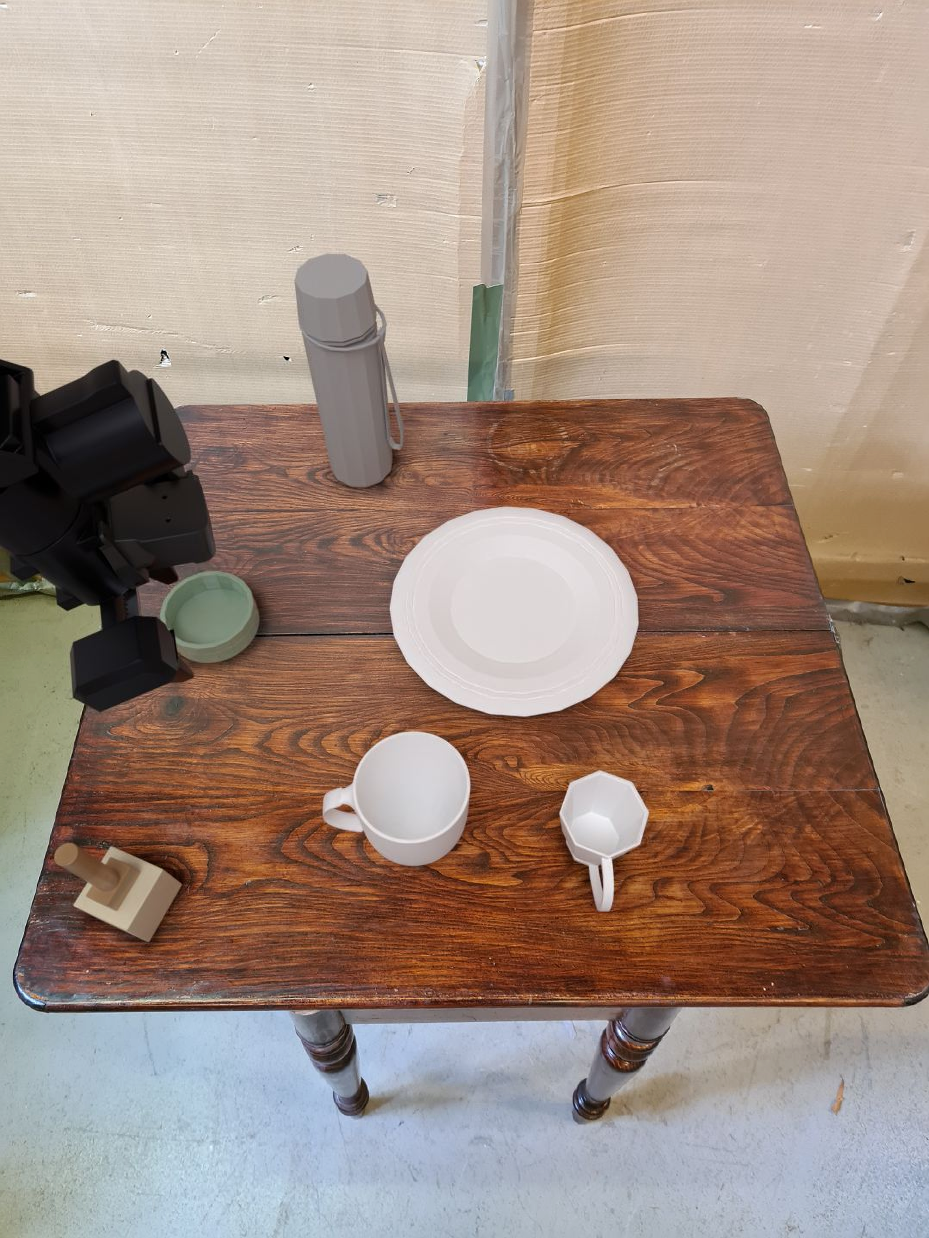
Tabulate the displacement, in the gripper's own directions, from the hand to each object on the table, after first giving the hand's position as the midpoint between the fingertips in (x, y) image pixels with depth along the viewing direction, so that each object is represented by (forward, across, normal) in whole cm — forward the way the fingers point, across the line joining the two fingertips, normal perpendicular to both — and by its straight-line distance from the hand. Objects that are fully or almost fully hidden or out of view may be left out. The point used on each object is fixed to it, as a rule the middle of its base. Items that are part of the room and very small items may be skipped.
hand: (180, 627), depth 61 cm
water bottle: (+21, +26, -15) cm, 37 cm away
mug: (+19, -16, -8) cm, 26 cm away
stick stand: (+13, -14, +14) cm, 24 cm away
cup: (+23, -23, -22) cm, 39 cm away
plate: (+23, +3, -24) cm, 34 cm away
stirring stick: (+8, -14, +13) cm, 21 cm away
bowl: (+16, +11, +4) cm, 20 cm away
